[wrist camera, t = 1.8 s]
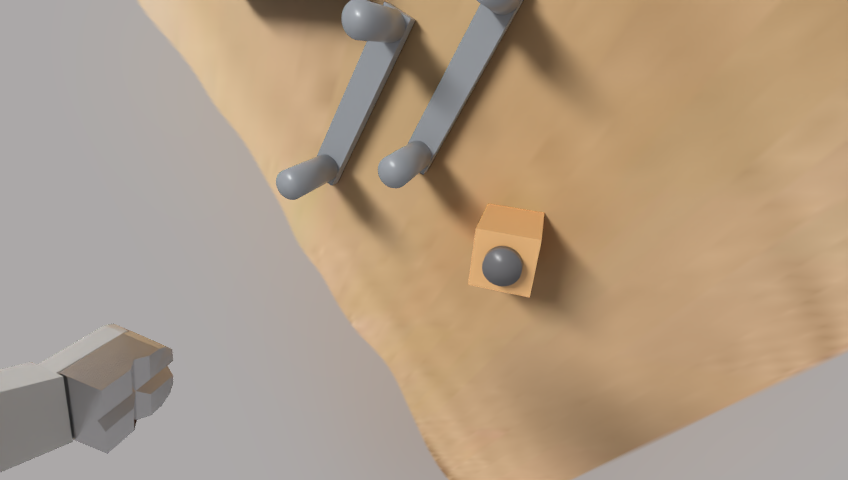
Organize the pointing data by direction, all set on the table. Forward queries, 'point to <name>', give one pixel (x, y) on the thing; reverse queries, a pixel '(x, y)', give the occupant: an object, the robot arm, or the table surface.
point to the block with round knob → (506, 249)
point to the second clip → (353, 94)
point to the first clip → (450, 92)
